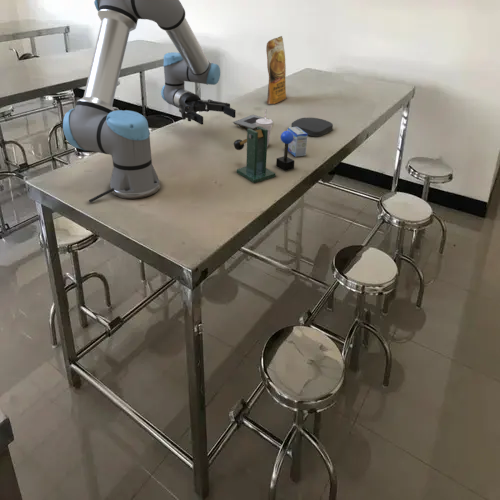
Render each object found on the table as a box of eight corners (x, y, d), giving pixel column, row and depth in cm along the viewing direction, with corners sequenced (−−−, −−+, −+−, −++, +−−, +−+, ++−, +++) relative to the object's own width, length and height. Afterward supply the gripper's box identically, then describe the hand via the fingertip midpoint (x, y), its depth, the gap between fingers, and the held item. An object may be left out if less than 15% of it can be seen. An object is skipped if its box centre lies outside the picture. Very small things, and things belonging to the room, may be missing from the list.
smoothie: (275, 145, 186) (277, 109, 178) (263, 150, 182) (265, 113, 174) (262, 141, 190) (264, 105, 182) (251, 145, 186) (252, 109, 178)
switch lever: (233, 152, 167) (230, 142, 167) (242, 150, 169) (239, 140, 169) (256, 140, 154) (253, 129, 154) (265, 137, 156) (262, 126, 156)
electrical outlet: (252, 119, 211) (253, 113, 210) (272, 124, 206) (272, 119, 204) (233, 126, 202) (233, 121, 201) (252, 133, 197) (252, 127, 196)
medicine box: (285, 149, 183) (287, 127, 178) (296, 148, 185) (297, 126, 180) (295, 157, 177) (297, 134, 172) (306, 155, 179) (308, 133, 174)
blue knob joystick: (284, 171, 167) (287, 134, 159) (275, 166, 170) (277, 130, 163) (294, 168, 169) (297, 131, 162) (285, 163, 172) (287, 127, 165)
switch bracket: (236, 172, 165) (237, 127, 156) (257, 166, 170) (259, 122, 161) (254, 183, 159) (255, 136, 150) (275, 176, 163) (278, 131, 154)
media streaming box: (317, 138, 193) (318, 131, 192) (287, 130, 201) (287, 123, 199) (335, 129, 203) (336, 122, 202) (306, 121, 210) (306, 114, 209)
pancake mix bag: (259, 103, 230) (261, 40, 214) (278, 94, 243) (282, 34, 228) (271, 106, 227) (274, 42, 211) (290, 96, 240) (294, 36, 225)
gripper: (215, 106, 193) (247, 121, 179) (159, 117, 180) (188, 134, 166) (215, 87, 189) (247, 101, 175) (157, 96, 176) (187, 112, 162)
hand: (218, 117), depth 170 cm, fingers open, 13 cm apart
